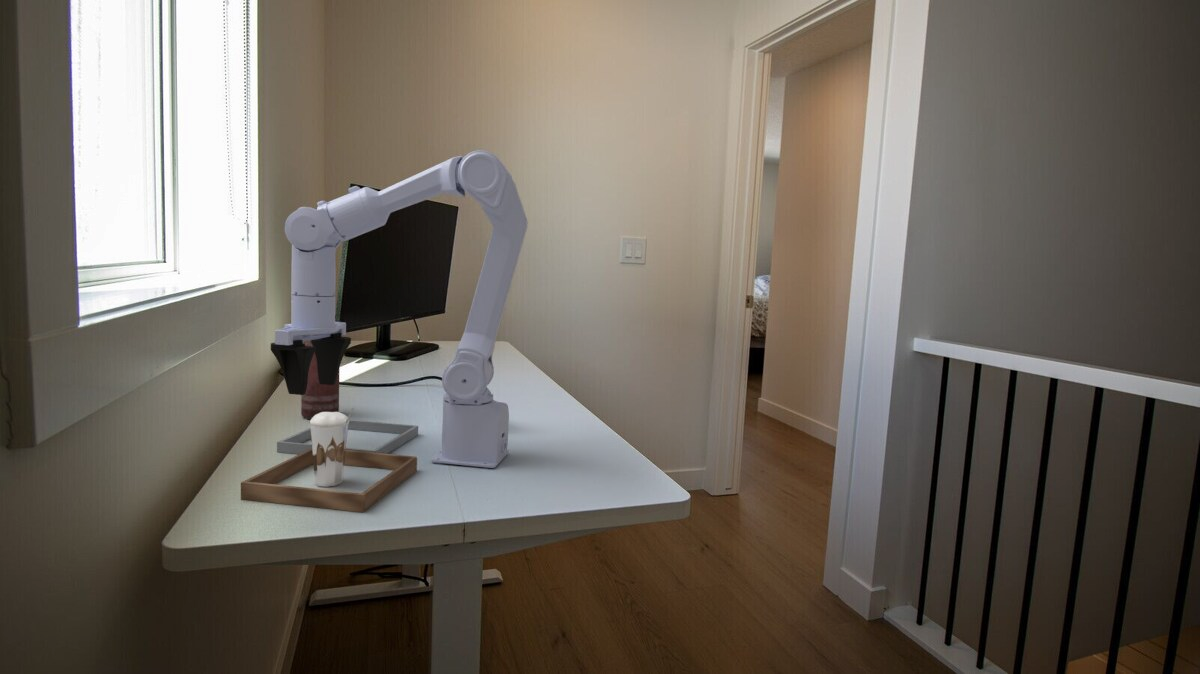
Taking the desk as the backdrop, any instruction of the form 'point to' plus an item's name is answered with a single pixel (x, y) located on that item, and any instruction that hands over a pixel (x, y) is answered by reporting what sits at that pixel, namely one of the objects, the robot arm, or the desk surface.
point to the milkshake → (329, 447)
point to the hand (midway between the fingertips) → (312, 389)
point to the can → (318, 393)
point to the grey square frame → (405, 431)
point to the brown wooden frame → (268, 491)
